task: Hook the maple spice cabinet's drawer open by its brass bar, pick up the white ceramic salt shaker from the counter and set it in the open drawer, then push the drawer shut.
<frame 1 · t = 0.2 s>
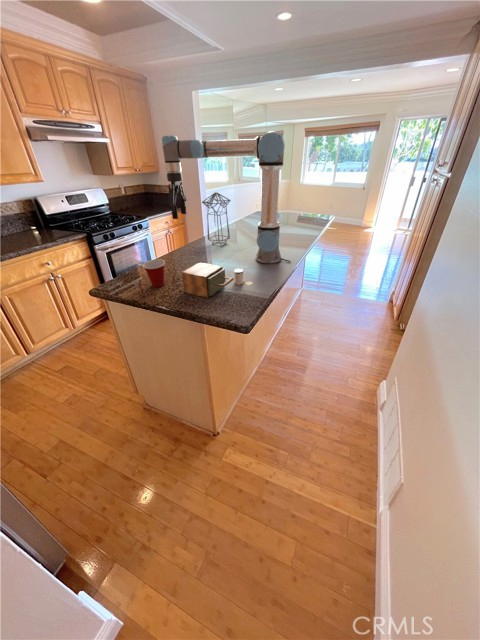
hand: (179, 216, 147), 28 cm above the countertop, tool pointing down, fingers open, 13 cm apart
salt shaker: (239, 283, 138), on the countertop
plastic cup: (158, 285, 137), on the countertop
drawer: (212, 281, 127), point 5 cm above the countertop, slide at 0.5 cm
cabinet: (204, 289, 132), on the countertop
geometric lantern: (219, 244, 197), on the countertop
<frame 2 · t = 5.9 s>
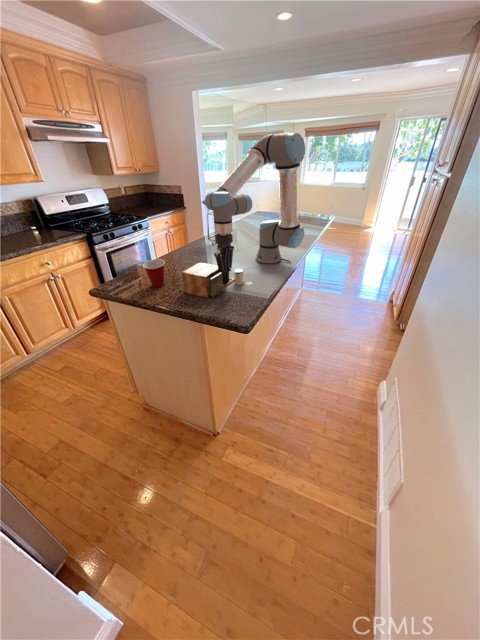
hand: (226, 284, 124), 5 cm above the countertop, tool pointing down, fingers closed
drawer: (214, 281, 127), point 5 cm above the countertop, slide at 1.8 cm
everything else where it was.
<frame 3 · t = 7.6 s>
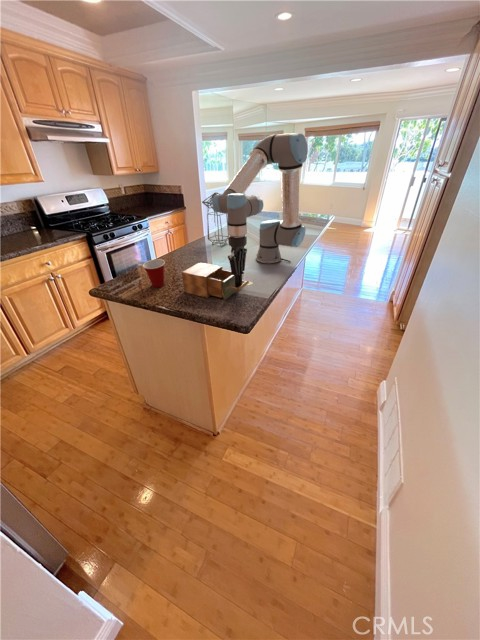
hand: (238, 287, 122), 5 cm above the countertop, tool pointing down, fingers closed
drawer: (226, 284, 124), point 5 cm above the countertop, slide at 8.4 cm, touching gripper
everything else where it was.
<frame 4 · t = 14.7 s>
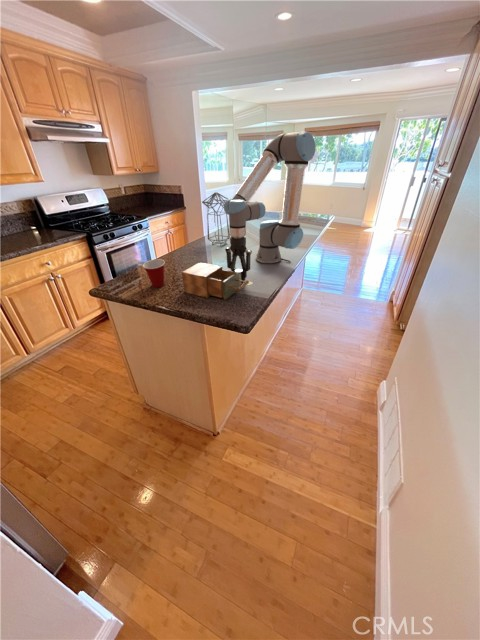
hand: (239, 282, 137), 0 cm above the countertop, tool pointing down, fingers closed on salt shaker, 4 cm apart
salt shaker: (239, 283, 138), on the countertop, touching gripper
drawer: (226, 284, 124), point 5 cm above the countertop, slide at 8.5 cm
everything else where it was.
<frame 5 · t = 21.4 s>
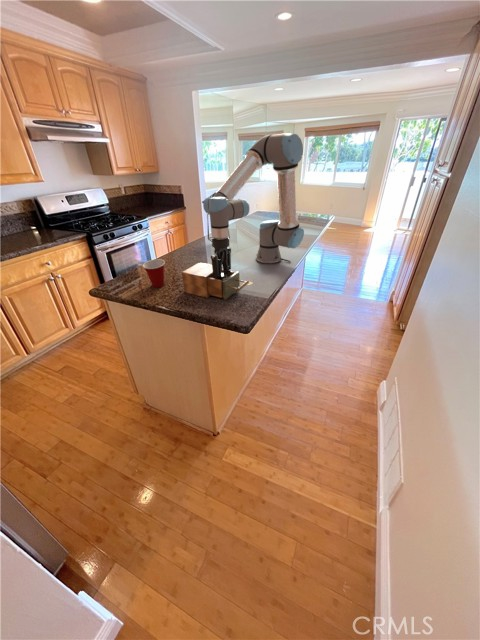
hand: (223, 287, 126), 3 cm above the countertop, tool pointing down, fingers closed on salt shaker, 4 cm apart
salt shaker: (223, 288, 126), point 3 cm above the countertop, touching gripper
drawer: (226, 284, 124), point 5 cm above the countertop, slide at 8.5 cm, touching gripper
everything else where it was.
when the fingers open (4 cm above the countertop, at t = 25.7 s): salt shaker stays where it is, resting on drawer.
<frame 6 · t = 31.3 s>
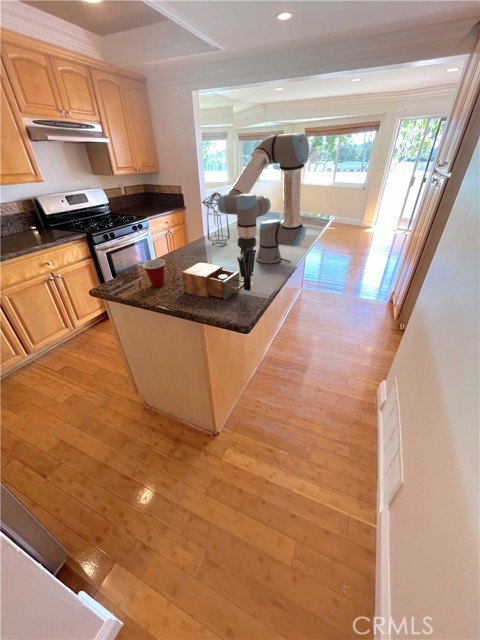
hand: (247, 289, 120), 5 cm above the countertop, tool pointing down, fingers closed
salt shaker: (223, 289, 127), point 2 cm above the countertop, touching drawer
drawer: (226, 284, 124), point 5 cm above the countertop, slide at 8.4 cm, touching gripper, salt shaker
everything else where it was.
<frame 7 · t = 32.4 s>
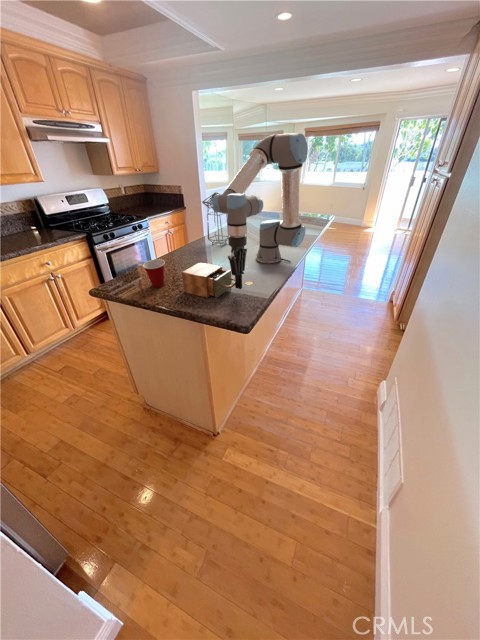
hand: (238, 287, 122), 5 cm above the countertop, tool pointing down, fingers closed
salt shaker: (215, 288, 128), point 2 cm above the countertop, touching drawer
drawer: (218, 282, 126), point 5 cm above the countertop, slide at 4.0 cm, touching gripper, salt shaker
everything else where it was.
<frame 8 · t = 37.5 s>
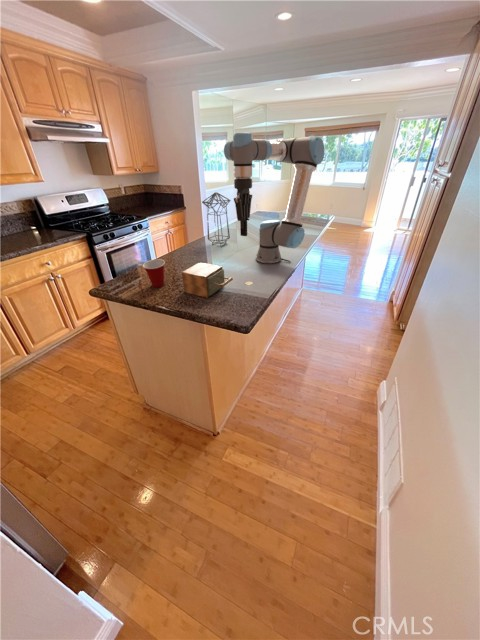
hand: (243, 235, 123), 24 cm above the countertop, tool pointing down, fingers closed
salt shaker: (208, 286, 130), point 2 cm above the countertop, touching drawer
drawer: (211, 281, 127), point 5 cm above the countertop, slide at 0.0 cm, touching salt shaker
everything else where it was.
at the end: drawer pulled out 8.5 cm at the most during the clip, back to where it started at the end; salt shaker inside the target area in the cabinet (2.2 cm from its centre), point 1.9 cm above the cabinet's base; drawer slide at 0.0 cm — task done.
